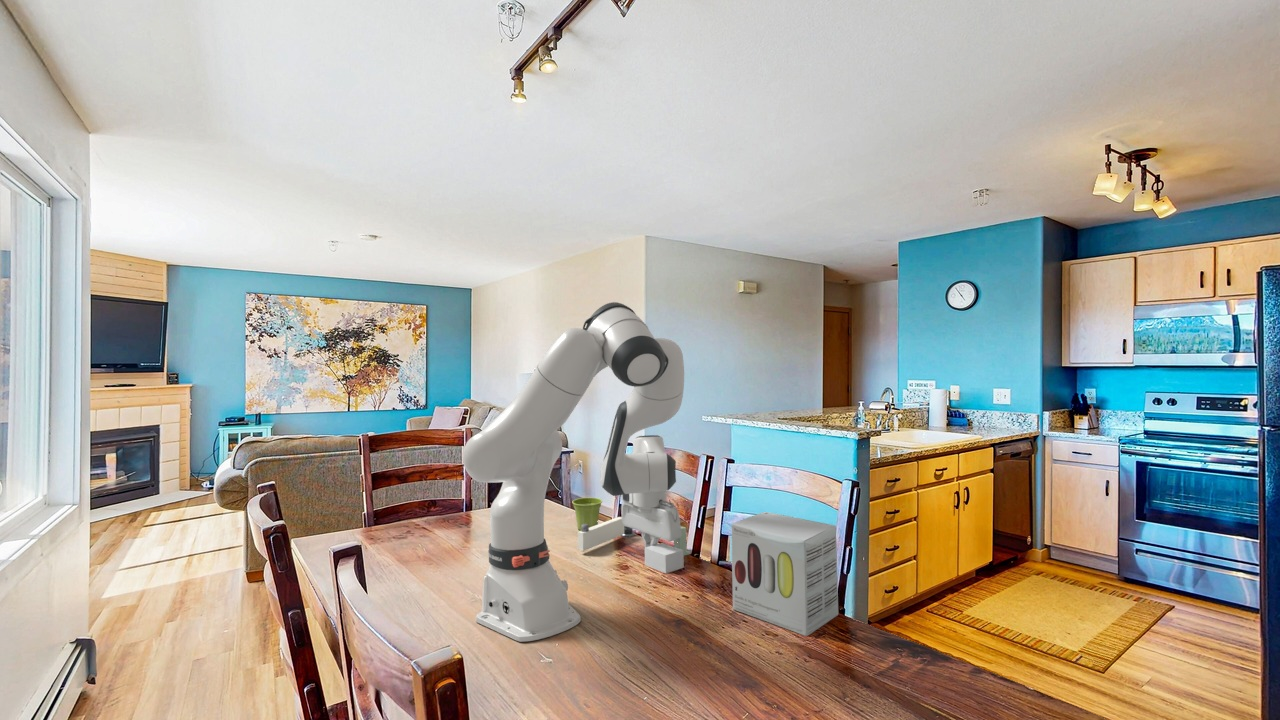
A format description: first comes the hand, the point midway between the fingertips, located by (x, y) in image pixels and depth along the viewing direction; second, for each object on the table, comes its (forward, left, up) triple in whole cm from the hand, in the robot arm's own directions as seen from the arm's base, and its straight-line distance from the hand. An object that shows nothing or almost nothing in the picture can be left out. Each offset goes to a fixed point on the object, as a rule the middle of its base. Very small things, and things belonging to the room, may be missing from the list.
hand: (651, 550), depth 151 cm
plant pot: (+36, -4, -3) cm, 36 cm away
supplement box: (-42, 0, -3) cm, 42 cm away
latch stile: (-1, -9, -3) cm, 9 cm away
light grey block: (-6, 0, -3) cm, 6 cm away
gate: (+18, +3, -1) cm, 19 cm away
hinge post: (+22, -9, -3) cm, 24 cm away
